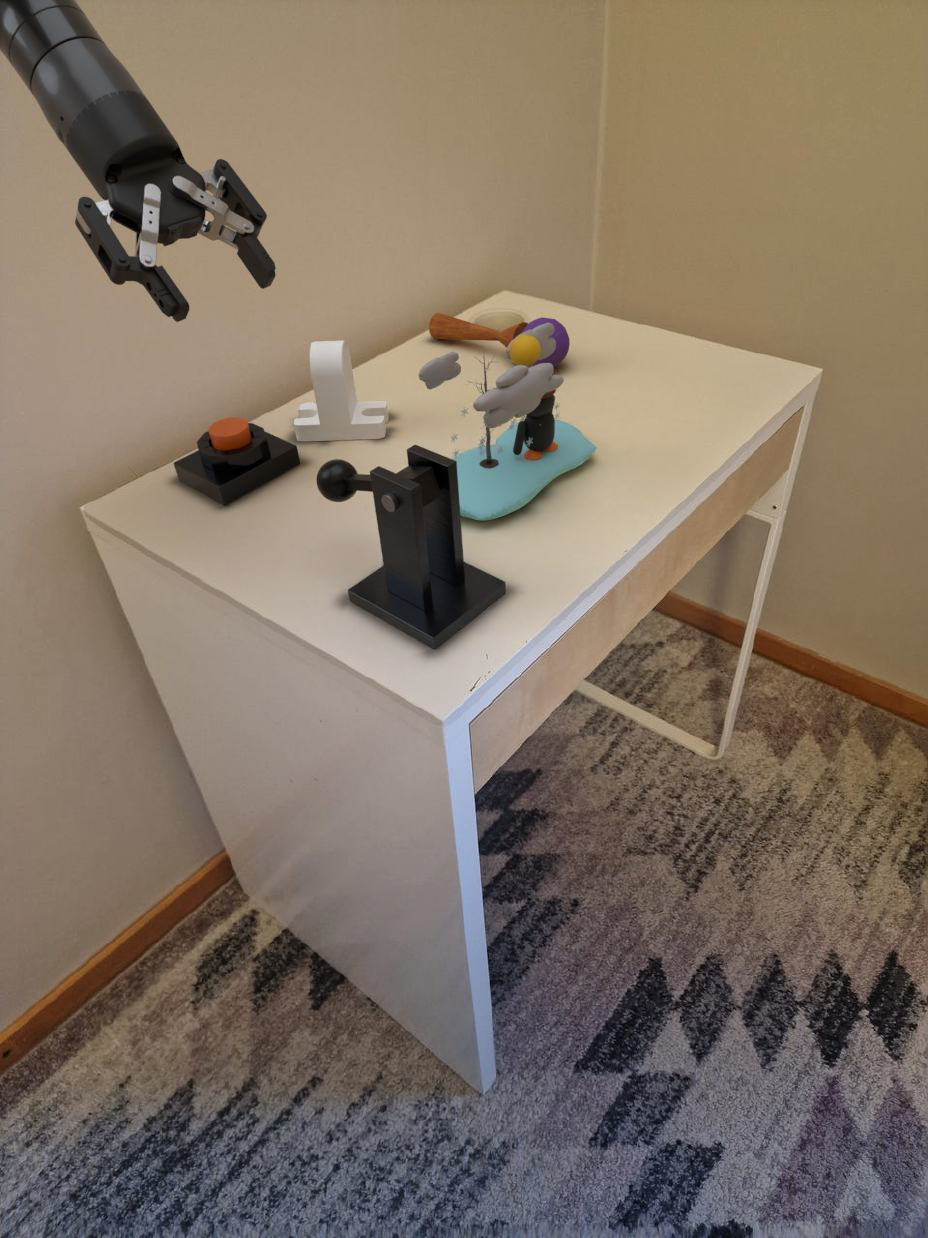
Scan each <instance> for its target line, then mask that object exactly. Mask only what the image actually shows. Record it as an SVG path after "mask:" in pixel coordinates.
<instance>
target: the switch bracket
mask: <svg viewBox="0 0 928 1238" xmlns="http://www.w3.org/2000/svg"><path fill="white" fill-rule="evenodd" d="M406 455H407V456H406V457H407V466H424V467H433V470H434V473H435V476H436V479H437V482H438V485H439V488H440V491H441V496H440V497H438V498H437V499H435V500H434V501H432V502H431V503H429V504H428V505H426V506H425V507H423V505H422V495H421V486H420V484H419V483H416V482H414V481H412V480H409V479H407V478H405V477H403V476H400V475H398V474H396V473H397V472H396V473H395V472H393V471H391V470H389V469H386V468H384V467H383V466H380V465H378V466H376V467H375V468H373V469H371V470H370V471H369V475H370V477H371V484H372V490H373V492H372V495H373V496H372V497H373V503H374V511H375V518H376V523H377V530H378V536H379V544H380V551H381V558H382V563H383V564H382V566H379V568H377V569H376V570H374V571H373V572H372V573H370V574H369V575H367V576H366V577H364V578H363V579H361V580H359V581H358V582H357V583H355V584H354V585H353V586H351V587H350V588H348V589H347V595H348V600H349V601H350V602H351V603H353V604H355V605H357V606H358V607H360V608H362V609H364V610H365V611H367V612H369V613H370V614H372V615H373V616H376V617H377V618H379V619H381V620H382V621H384V622H386V623H388V624H390V625H391V626H393V627H394V628H397V629H398V630H399V631H402V632H403V633H405V634H407V635H409V636H410V637H412V638H414V639H416V640H417V641H419V642H421V643H423V644H424V645H426V646H428V647H430V648H432V649H433V650H436V649H437V648H438V647H440V646H441V645H442V644H444V643H445V642H446V641H447V640H448V639H449V638H452V636H453V635H454V634H456V633H457V632H459V631H460V630H461V629H462V628H464V627H465V626H466V625H468V624H469V623H470V622H471V621H472V620H473V619H475V618H476V617H477V616H479V615H480V614H481V613H482V612H484V611H485V610H486V609H487V608H488V607H490V606H491V605H493V604H494V603H495V602H496V601H498V600H499V599H500V598H501V597H502V596H503V595H505V594H506V592H507V584H506V583H507V582H506V581H505V580H503V579H501V578H498V577H497V576H495V575H492V574H490V573H488V572H486V571H485V570H482V569H480V568H478V567H476V566H474V565H472V564H470V563H468V562H465V561H464V560H465V559H464V549H463V548H464V547H463V546H464V545H463V531H462V519H461V518H462V516H460V503H459V488H458V474H457V462H456V461H455V460H452V458H449V457H447V456H445V455H443V454H440V453H438V452H435V451H432V450H430V449H428V448H425V447H423V446H420V445H418V444H413V445H412V446H410V447H408V448H407V449H406Z"/></svg>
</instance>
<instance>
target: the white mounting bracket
mask: <svg viewBox="0 0 928 1238" xmlns="http://www.w3.org/2000/svg"><path fill="white" fill-rule="evenodd" d="M350 351H351V350H350V348H349V344H348V341H347V340H346V339H343V340H342V339H341V340H319V341H312V342H311V344H310V347H309V369H310V371H309V372H310V378H311V384H312V389H313V393H314V400H315V402H304V403H301V404H300V405H299V407H298V414H299V417H296V418H294V421H293V428H294V432H295V437H296V440H297V442H327V441H353V440H354V441H357V440H381V439H383V438H385V437H386V434H387V426H386V424H388V423H389V420H390V417H389V408H388V402H387V401H385V400H367V401H358V398H357V397H358V396H357V392H356V391H357V390H356V385H355V377H354V372H353V366H352V365H353V364H352V358H351V352H350Z"/></svg>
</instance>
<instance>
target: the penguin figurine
mask: <svg viewBox="0 0 928 1238" xmlns="http://www.w3.org/2000/svg"><path fill="white" fill-rule="evenodd" d="M554 330H555V328H554V326H553V324H551V323H545V324H542V325H540V326H537V327H535V328H533V329H532V330H531V329H530V330H527V331H525V332H523V333H521V334H520V335H518V336H517V337H516V338H514V339H513V340H512V341H511V342H510V343H509V345H508V347H507V348H506V349H505V356H506V359H508V360H510V361H511V362H512V365H513V366H512V367H510V368H508V369H507V370H506V371H504V372H503V373H502V374H500V376H498V377H497V379H496V380H495V387H493V385H491V387H490V388H489V389H488V381H487V380H488V379H487V371H490V370H491V368H489V367H490V365H491V363H493V359H494V357H495V355H493V357H492V359H491V361H489V362H487V366H486V362H485V361H486V359H485V353H483V362H481V360H479V363H482V364H483V373H484V374H483V376H484V383H478V381H477V379H475V380H476V382H475V386H476V388H477V391H480V394H481V395H479V396H478V397H477V398H476V399H475V400H474V402H473V403H472V407H473V409H474V410H475V412H485V413H484V414H483V417H482V419H483V428H482V427H481V429H483V430H484V428H485V433H484V435H485V436H484V437H481V439H479V440H478V441H479V443H478V446H477V447H473V448H472V449H468V450H466V451H463V452H461V453H459V451H460V449H457V448H455V449H454V450H455V451H454V452H453V455H452V458H451V459H452V460H455V461H456V462H457V474H458V488H459V503H460V517H464V518H468V519H472V520H477V521H491V520H494V519H498V518H502V517H503V516H507V515H509V514H512V513H513V512H516V511H518V510H520V509H521V508H523V507H524V506H525V505H527V504H528V503H529V502H531V501H532V500H533V499H534V498H535V497H536V496H537V495H538V494H539V493H540V492H541V491H542V490H544V488H545V487H546V486H548V484H550V483H551V482H552V481H553V480H554V479H556V478H557V477H559V476H561V475H562V474H565V473H566V472H569V471H572V470H573V469H576V468H577V467H580V466H581V465H582V464H584V463H586V462H587V460H588V459H589V458H590V457H591V456H592V455H593V454H594V453H595V452H596V450H597V446H596V445H595V444H594V443H593V442H591V441H590V440H589V439H588V438H587V437H585V435H583V432H581V430H580V429H578V427H576V426H574V425H573V424H571V423H569V422H566V421H563V420H559V419H558V418H560V412H558V411H557V410H558V409H557V408H560V403H561V402H558V401H557V402H556V396H555V395H554V394H555V393H556V391H557V389H559V388H560V387H561V386H562V385H563V384H564V381H565V379H564V377H563V376H561V375H558V374H554V368H555V367H553V365H552V364H551V363H541V364H537V365H535V366H531V365H533V364H534V363H535V362H536V361H537V360H542V359H544V358H546V357H548V356H550V355H551V354H552V353H553V352H554V351H555V348H556V341H555V339H554V338H552V337H550V336H551V335H552V334H553V333H554ZM459 358H460V356H459V354H458V353H457V352H456V351H451V352H447V353H445V354H443V355H441V356H438V357H436V358H433V359H430V360H429V361H427V362H426V363H425V364H424V365H423V366H421V368H420V370H419V371H418V378H419V381H422V382H423V383H424V385H425V386H426V389H427V390H433V389H435V388H438V387H440V386H441V385H442V384H443V383H445V382H447V381H451V380H453V379H455V378H456V377H458V376H459V375H460V374H461V372H462V367H461V364H460V363H458V362H457V361H458V360H459ZM474 358H475V359H477V356H474ZM496 363H499V361H496ZM467 382H469V383H470V384H474V382H473V381H468V380H467ZM469 383H468V384H465V385H469ZM478 385H479V386H480V388H479V386H478ZM483 385H484V386H483ZM483 387H484V389H483ZM555 402H556V404H555ZM468 409H469V408H468V407H465V406H463V409H462V410H460V413H461V415H460V417H462V416H466V414H468ZM554 410H555V411H556V414H555V415H554V414H553V411H554ZM518 418H520V419H519V422H517V419H518ZM512 419H513V420H512ZM509 422H511V423H510V425H509V426H508V428H507V429H506V430H505V431H503V432H502V433H501V434H500V435H499V436H498V437H497V438H496V440H495V444H491V433H493V430H491V429H496V428H498V427H499V428H500V427H501V426H503V425H505V424H506V423H509ZM452 435H453V436H450V439H451V442H453V444H454V443H455V441H456V440H458V433H454V432H453V434H452Z"/></svg>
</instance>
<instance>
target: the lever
mask: <svg viewBox="0 0 928 1238" xmlns="http://www.w3.org/2000/svg"><path fill="white" fill-rule="evenodd" d="M396 474H398V475H400V476H403V477H405V478H407V479H409V480H412V481H414V482H416V483H419V484H420V486H421V495H422V505H423V507H425V506H426V505H428V504H429V503H431V502H432V501H434V500H435V499H437V498H438V497H440V496H441V491H440V488H439V485H438V482H437V479H436V476H435V473H434V470H433V467H424V466H408V465H407V466H406V467H404V468H403V469H401V470H399V471H397V472H396ZM315 480H316V486H317V487H316V488H317V489H318V492H319V493H320V494H321V495H322V496H323V497H324V498H325V499H326V500H327V501H330V502H333V503H343V502H346V501H348V500H351V499H352V498H353V497H354V496H355V495H356V493H357V492H368V493H369V492H371V493H373V490H372V484H371V477H370V474H365V473H364V474H363V473H358V471H357V469H356V468H355V466H354V465H353V464H352V463H351V462H349V461H346V460H345V459H339V458H335V459H330V460H328V461H326V462H325V463H323V464H322V465H321V466H320V468H319V469H318V470H317V473H316V479H315Z"/></svg>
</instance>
